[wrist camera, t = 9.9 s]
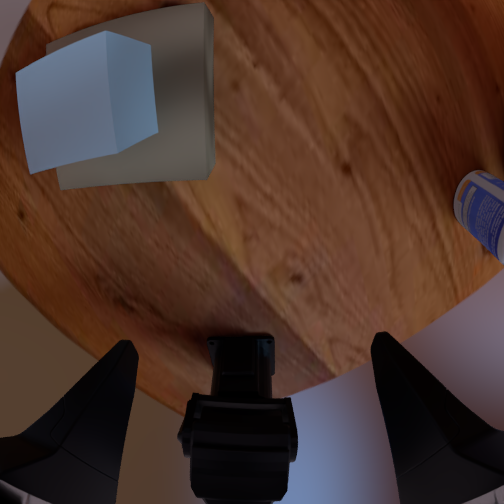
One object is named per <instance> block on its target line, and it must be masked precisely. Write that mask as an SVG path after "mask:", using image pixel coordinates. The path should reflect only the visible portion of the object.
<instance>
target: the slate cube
mask: <svg viewBox="0 0 504 504" xmlns="http://www.w3.org/2000/svg"><path fill="white" fill-rule="evenodd" d="M16 86H17V98H18V108H19V116H20V124H21V130H22V136H23V142H24V147H25V153H26V157H27V162H28V167H29V171H30V174H33V173H36V172H40V171H43V170H47V169H51V168H54V167H58V166H62V165H66V164H70V163H74V162H78V161H83V160H87V159H92V158H97V157H101V156H106V155H111V154H117V153H119V152H121V151H123V150H125V149H127V148H129V147H130V146H132V145H134V144H136V143H138V142H140V141H142V140H144V139H146V138H148V137H150V136H152V135H154V134H156V133H158V124H157V115H156V106H155V95H154V84H153V72H152V58H151V45H149V44H146V43H144V42H141V41H138V40H135V39H132V38H129V37H126V36H123V35H119V34H116V33H113V32H109V31H103V32H100V33H97V34H95V35H92V36H90V37H87V38H85V39H82V40H80V41H77V42H75V43H73V44H70V45H68V46H66V47H64V48H61V49H59V50H57V51H55V52H53V53H51V54H49V55H47V56H45V57H43V58H41V59H39V60H38V61H36V62H34V63H32V64H30V65H28V66H27V67H25V68H23V69H22V70H20V71H18V72H17V73H16Z"/></svg>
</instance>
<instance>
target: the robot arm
mask: <svg viewBox="0 0 504 504" xmlns="http://www.w3.org/2000/svg"><path fill="white" fill-rule="evenodd" d="M269 340H270V341H269ZM207 346H208V349H209V353H210V357H211V360H212V364H213V367H214V368H213V377H212V385H211V394H210V395H202V394H199V393H193V394H192V398H191V400H189V401H188V402H187V408H186V414H185V417H184V420H183V422H182V425H181V427H180V430H179V432H178V436H177V439H178V440H179V441H180V443H181V444H182V448H183V453H184V456H185V457H186V458H190V481H191V488H192V490H193V492H194V494H195V496H196V497H197V498H202V499H203V500H204V502H205V503H206V504H272V503H273V502H274V501H281V500H282V498H283V496H284V495H285V493H286V492H287V488H288V476H289V463H290V462H294V461H295V460H296V456H297V450H298V434H297V427H296V422H295V417H294V412H293V407H292V402H291V398H290V397H285V398H272V378H271V376H272V375H274V374H275V341H274V337H273V336H244V337H209V338H208V339H207ZM371 357H372V364H373V370H374V377H375V383H376V389H377V393H378V396H379V401H380V405H381V408H382V413H383V416H384V421H385V425H386V429H387V434H388V439H389V443H390V448H391V453H392V458H393V463H394V468H395V474H396V478H397V479H396V480H397V486H398V492H399V499H400V504H504V431H501V430H498V429H495V428H493V427H492V426H490V425H489V424H487V423H486V422H485V421H484V420H482V419H481V418H480V417H479V416H477V415H476V414H475V413H474V412H472V411H471V410H470V409H469V408H468V407H466V406H465V405H464V404H463V403H462V402H461V401H459V400H458V399H457V398H456V397H455V396H454V395H453V394H452V393H451V392H450V391H449V390H446V387H445V386H444V385H443V384H442V383H441V382H440V381H439V380H438V379H437V378H436V377H435V376H433V375H432V374H431V373H430V372H429V371H428V370H427V369H426V368H425V367H424V366H423V365H422V364H421V363H420V362H419V361H418V360H417V359H416V358H415V357H414V356H412V354H410V353H409V352H408V351H407V350H406V349H405V348H404V347H403V346H402V345H401V344H400V343H399V342H398V341H397V340H396V339H394V338H393V337H392V336H391V335H390V334H389V333H388V332H385V331H384V332H378V333H376V334H375V337H374V339H373V342H372V345H371ZM138 360H139V356H138V353H137V351H136V349H135V347H134V345H133V343H132V341H130V340H120V341H119V342H118V343H117V344H116V345H115V346H114V347H113V348H112V349H111V350H109V351H108V352H107V353H106V354H105V355H104V356H103V357H102V358H101V359H100V360H99V361H98V362H97V363H96V364H95V365H94V366H93V367H92V368H91V369H90V370H89V371H88V372H87V373H86V374H85V375H84V376H83V377H82V378H81V379H80V380H79V381H78V382H77V383H76V384H75V385H74V386H73V387H72V388H71V389H70V390H69V391H68V392H67V393H66V394H65V395H64V397H62V398H61V399H60V400H59V401H58V402H57V403H56V404H55V405H54V406H53V407H52V408H51V409H50V410H49V411H47V412H46V413H45V414H44V415H43V416H42V417H40V418H39V419H38V420H37V421H36V422H34V423H33V424H32V425H31V426H30V427H28V428H27V429H26V430H25V431H23V432H22V433H20V434H18V435H15V436H11V437H3V438H0V504H115V503H116V495H117V486H118V479H119V471H120V466H121V460H122V453H123V448H124V442H125V437H126V431H127V426H128V421H129V416H130V411H131V407H132V402H133V398H134V392H135V385H136V376H137V368H138Z"/></svg>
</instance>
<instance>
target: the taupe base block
mask: <svg viewBox="0 0 504 504" xmlns="http://www.w3.org/2000/svg"><path fill="white" fill-rule="evenodd" d="M103 31H109V32H113V33H116V34H119V35H123V36H126V37H129V38H132V39H135V40H138V41H141V42H144V43H146V44H149V45H151V58H152V72H153V84H154V95H155V106H156V115H157V124H158V133H156V134H154V135H152V136H150V137H148V138H146V139H144V140H142V141H140V142H138V143H136V144H134V145H132V146H130V147H129V148H127V149H125V150H123V151H121V152H119V153H117V154H111V155H106V156H101V157H97V158H92V159H87V160H83V161H78V162H74V163H70V164H66V165H62V166H58V167H56V171H57V176H58V181H59V186H60V190H66V189H75V188H84V187H93V186H103V185H115V184H127V183H141V182H158V181H180V180H207V179H208V177H209V175H210V173H211V171H212V169H213V167H214V165H215V134H214V77H213V37H214V17H213V16H212V14H211V13H210V11H209V9H208V8H207V6H206V4H205V3H204V2H203V3H194V4H186V5H178V6H172V7H166V8H160V9H155V10H150V11H145V12H141V13H136V14H132V15H128V16H124V17H121V18H117V19H114V20H110V21H107V22H104V23H100V24H97V25H94V26H91V27H88V28H86V29H83V30H80V31H77V32H75V33H72V34H70V35H67V36H65V37H62V38H60V39H58V40H55V41H53V42H51V43H49V44H46V56H47V55H49V54H51V53H53V52H55V51H57V50H59V49H61V48H64V47H66V46H68V45H70V44H73V43H75V42H77V41H80V40H82V39H85V38H87V37H90V36H92V35H95V34H97V33H100V32H103Z"/></svg>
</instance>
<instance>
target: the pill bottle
mask: <svg viewBox="0 0 504 504" xmlns="http://www.w3.org/2000/svg"><path fill="white" fill-rule="evenodd" d="M454 213H455V216H456V219H457V220H458V222H459V223H460V224H461V225H462V226H463V227H464V228H465V229H467V230H468V231H469V232H470V233H471V234H472V235H473V236H474V237H475V238H476V239H478V240H479V241H480V242H481V243H482V244H483V245H484V246H485V247H486V248H487V249H488V250H489V251H490V252H491V253H492V254H493V255H494V256H495V257H496V258H497V259H498V260H499V261H500V262H501V263H502V264H503V265H504V182H503V181H502V180H500V179H498V178H497V177H495V176H493V175H491V174H490V173H488V172H485V171H482V170H475V171H472V172H470V173H469V174H467V175H466V176H465V177H464V178H463V179H462V181H461V182H460V184H459V185H458V188H457V190H456V193H455V197H454Z"/></svg>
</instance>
